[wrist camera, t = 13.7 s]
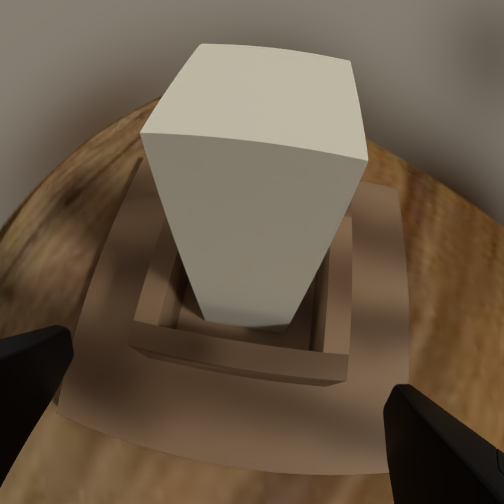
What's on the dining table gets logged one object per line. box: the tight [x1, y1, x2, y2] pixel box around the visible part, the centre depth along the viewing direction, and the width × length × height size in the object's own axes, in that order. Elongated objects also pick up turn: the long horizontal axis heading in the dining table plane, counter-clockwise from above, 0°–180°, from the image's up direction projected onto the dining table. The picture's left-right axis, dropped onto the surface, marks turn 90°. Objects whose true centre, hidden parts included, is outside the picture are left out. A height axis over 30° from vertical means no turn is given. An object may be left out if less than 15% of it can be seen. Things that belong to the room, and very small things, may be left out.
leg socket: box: [56, 154, 409, 475], centre depth 17 cm, size 20×20×4 cm
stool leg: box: [140, 44, 368, 333], centre depth 12 cm, size 4×4×13 cm
